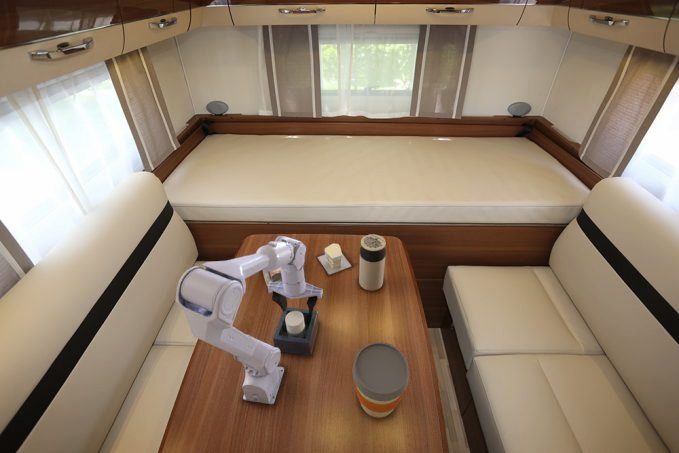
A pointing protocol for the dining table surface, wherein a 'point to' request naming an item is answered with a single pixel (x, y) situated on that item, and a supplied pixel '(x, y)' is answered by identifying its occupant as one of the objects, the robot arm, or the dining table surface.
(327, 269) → the stacked layers on plate
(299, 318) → the paper roll
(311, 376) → the dining table surface
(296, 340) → the open box
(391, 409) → the reusable coffee cup
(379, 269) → the travel mug
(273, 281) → the packaged product
